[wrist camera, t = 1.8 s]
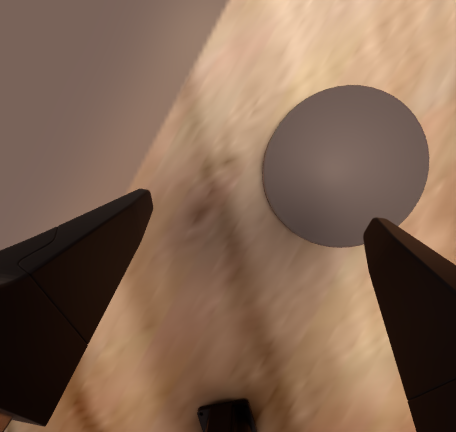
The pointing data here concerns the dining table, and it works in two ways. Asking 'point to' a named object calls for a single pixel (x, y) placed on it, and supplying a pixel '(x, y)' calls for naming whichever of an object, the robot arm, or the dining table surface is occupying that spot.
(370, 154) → the grey-brown round disc
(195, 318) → the dining table surface
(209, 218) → the dining table surface
